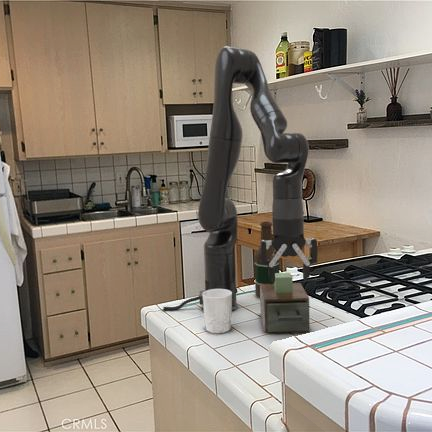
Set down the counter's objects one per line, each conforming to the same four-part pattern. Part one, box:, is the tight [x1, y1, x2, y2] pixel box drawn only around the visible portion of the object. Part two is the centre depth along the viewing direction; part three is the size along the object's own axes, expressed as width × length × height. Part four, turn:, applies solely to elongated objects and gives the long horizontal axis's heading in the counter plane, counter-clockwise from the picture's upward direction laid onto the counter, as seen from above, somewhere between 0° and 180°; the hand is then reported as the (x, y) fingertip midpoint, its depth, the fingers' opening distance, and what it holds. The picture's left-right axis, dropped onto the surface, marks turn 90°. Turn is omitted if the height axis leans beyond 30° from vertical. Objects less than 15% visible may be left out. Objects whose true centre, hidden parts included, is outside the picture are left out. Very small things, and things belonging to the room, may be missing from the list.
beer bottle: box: [254, 221, 280, 299], centre depth 160 cm, size 8×8×24 cm
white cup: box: [202, 289, 233, 334], centre depth 135 cm, size 8×8×10 cm
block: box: [274, 272, 293, 293], centre depth 136 cm, size 4×4×4 cm
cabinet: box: [259, 282, 310, 334], centre depth 137 cm, size 14×12×9 cm
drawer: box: [267, 301, 309, 333], centre depth 133 cm, size 17×10×7 cm, turn 179°
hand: (289, 280), depth 126 cm, fingers open, 7 cm apart
